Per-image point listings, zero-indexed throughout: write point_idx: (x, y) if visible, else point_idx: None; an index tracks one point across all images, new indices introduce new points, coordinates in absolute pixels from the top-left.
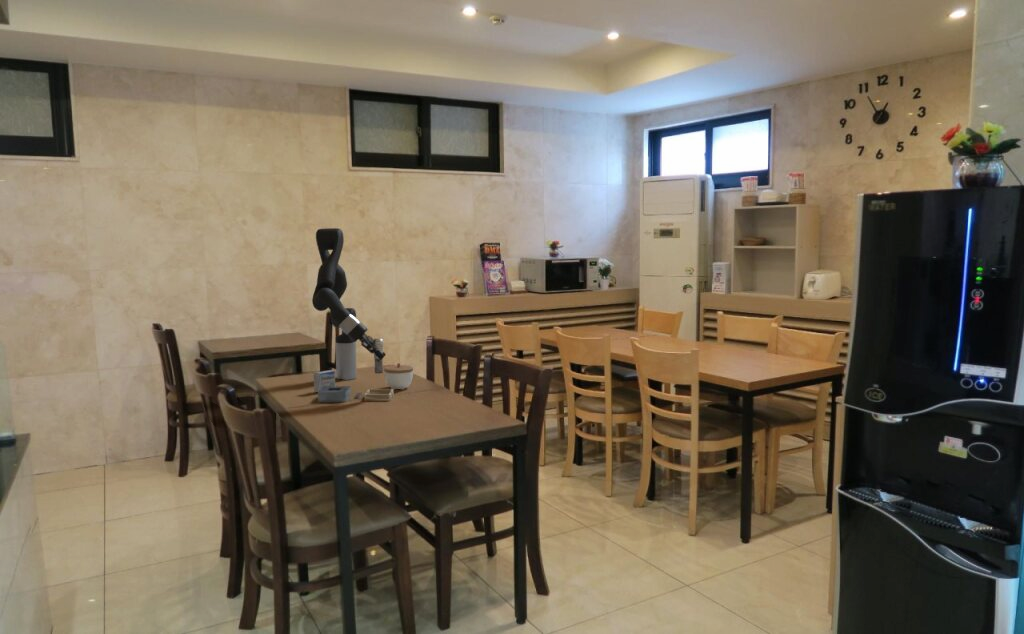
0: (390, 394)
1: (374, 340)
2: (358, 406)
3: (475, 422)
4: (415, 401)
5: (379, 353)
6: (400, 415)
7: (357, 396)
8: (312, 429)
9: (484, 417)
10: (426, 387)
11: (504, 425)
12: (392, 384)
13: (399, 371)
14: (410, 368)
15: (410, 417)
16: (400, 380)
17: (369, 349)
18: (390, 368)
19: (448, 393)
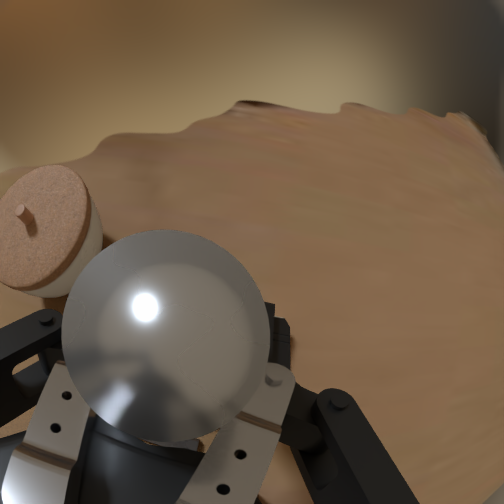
0: (280, 317)
1: (209, 429)
2: None
3: (481, 169)
4: (308, 235)
5: (289, 349)
6: (458, 303)
7: (197, 446)
8: (497, 484)
9: (453, 143)
10: (105, 171)
11: (483, 141)
12: None
13: (86, 226)
14: (71, 174)
15: (471, 279)
16: (99, 241)
17: (320, 472)
18: (34, 260)
19: (217, 128)
